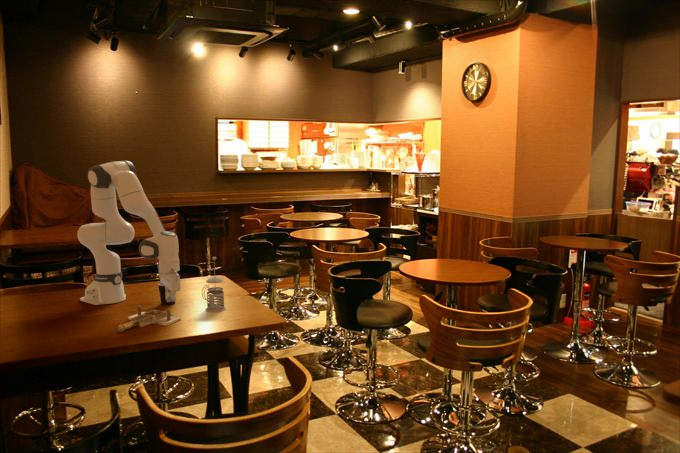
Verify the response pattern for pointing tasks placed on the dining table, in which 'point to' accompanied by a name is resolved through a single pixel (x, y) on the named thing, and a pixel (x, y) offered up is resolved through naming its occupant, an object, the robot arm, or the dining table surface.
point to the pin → (127, 325)
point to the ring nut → (168, 298)
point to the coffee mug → (164, 295)
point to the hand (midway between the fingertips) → (170, 296)
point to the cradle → (153, 317)
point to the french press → (214, 295)
